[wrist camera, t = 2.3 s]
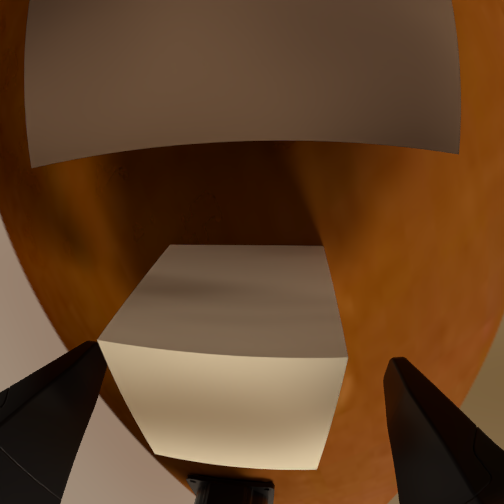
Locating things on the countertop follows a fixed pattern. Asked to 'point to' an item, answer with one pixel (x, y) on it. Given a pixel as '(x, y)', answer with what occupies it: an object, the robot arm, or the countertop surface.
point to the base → (238, 74)
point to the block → (232, 355)
